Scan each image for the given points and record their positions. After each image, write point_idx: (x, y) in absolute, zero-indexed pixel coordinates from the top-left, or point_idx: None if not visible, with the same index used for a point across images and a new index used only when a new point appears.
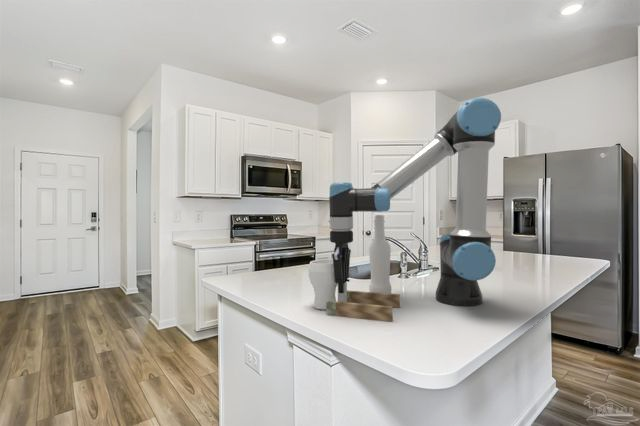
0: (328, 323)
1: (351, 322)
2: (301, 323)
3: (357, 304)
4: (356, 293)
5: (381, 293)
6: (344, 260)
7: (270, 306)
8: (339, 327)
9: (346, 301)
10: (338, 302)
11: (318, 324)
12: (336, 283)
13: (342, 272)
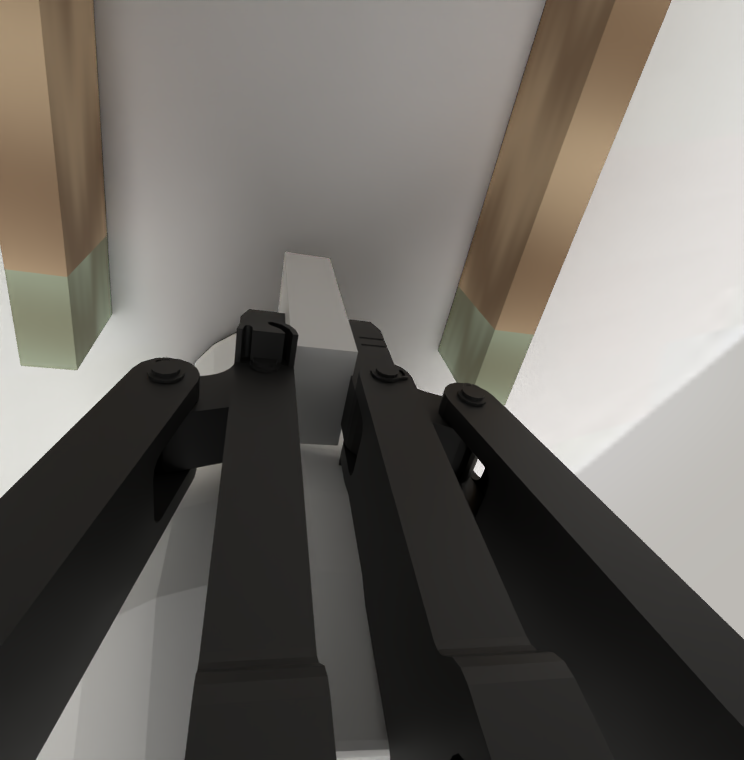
0: (635, 305)
1: (645, 149)
2: (610, 437)
3: (614, 114)
4: (62, 175)
5: None
6: (567, 698)
7: None
8: (722, 224)
9: (306, 257)
10: (527, 312)
11: (641, 355)
12: (334, 448)
13: (531, 480)
